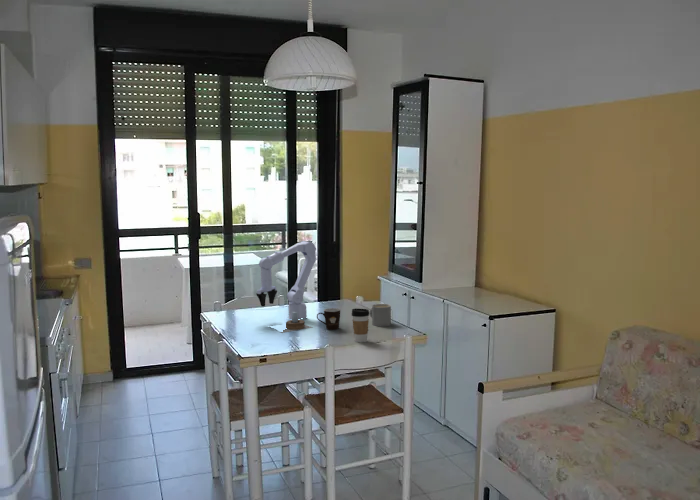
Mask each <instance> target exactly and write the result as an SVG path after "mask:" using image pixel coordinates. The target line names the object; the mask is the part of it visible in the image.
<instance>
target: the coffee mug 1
mask: <svg viewBox="0 0 700 500" xmlns="http://www.w3.org/2000/svg"><path fill="white" fill-rule="evenodd" d="M319 315H323V318H324V319H325V320H324V321H322V320H321V319H320V318H319ZM340 318H341V309H340V308H337V307H332V308H331V307H329V308H325V309H323V312H318V313H317V314H316V319H317V320H318V321H319V322H321V323H322V324H324V325H325V327H326V328H325V329H326V330H329V331H336V330H339V329H340V322H341V321H340Z"/></svg>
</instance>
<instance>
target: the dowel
mask: <svg viewBox="0 0 700 500" xmlns="http://www.w3.org/2000/svg"><path fill="white" fill-rule="evenodd" d="M292 323H298V312H292Z"/></svg>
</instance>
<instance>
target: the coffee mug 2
mask: <svg viewBox="0 0 700 500" xmlns="http://www.w3.org/2000/svg"><path fill="white" fill-rule="evenodd" d="M391 308H392V306H391V304H388V303H375V304H372V305H371V307H370V308H369V316H370V317H371V322H372V323H371V325H372V326H375V327H388V326H391V325H392V309H391Z"/></svg>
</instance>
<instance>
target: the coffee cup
mask: <svg viewBox="0 0 700 500" xmlns="http://www.w3.org/2000/svg"><path fill="white" fill-rule="evenodd" d="M369 316H370V309H367V308H352V309H351V317H352V320H351V321H352V329H353V336H354V337H353V338H354V341H355V342H357V343H365V342H368V333H369V332H368V331H369V321H370V319H369Z"/></svg>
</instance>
